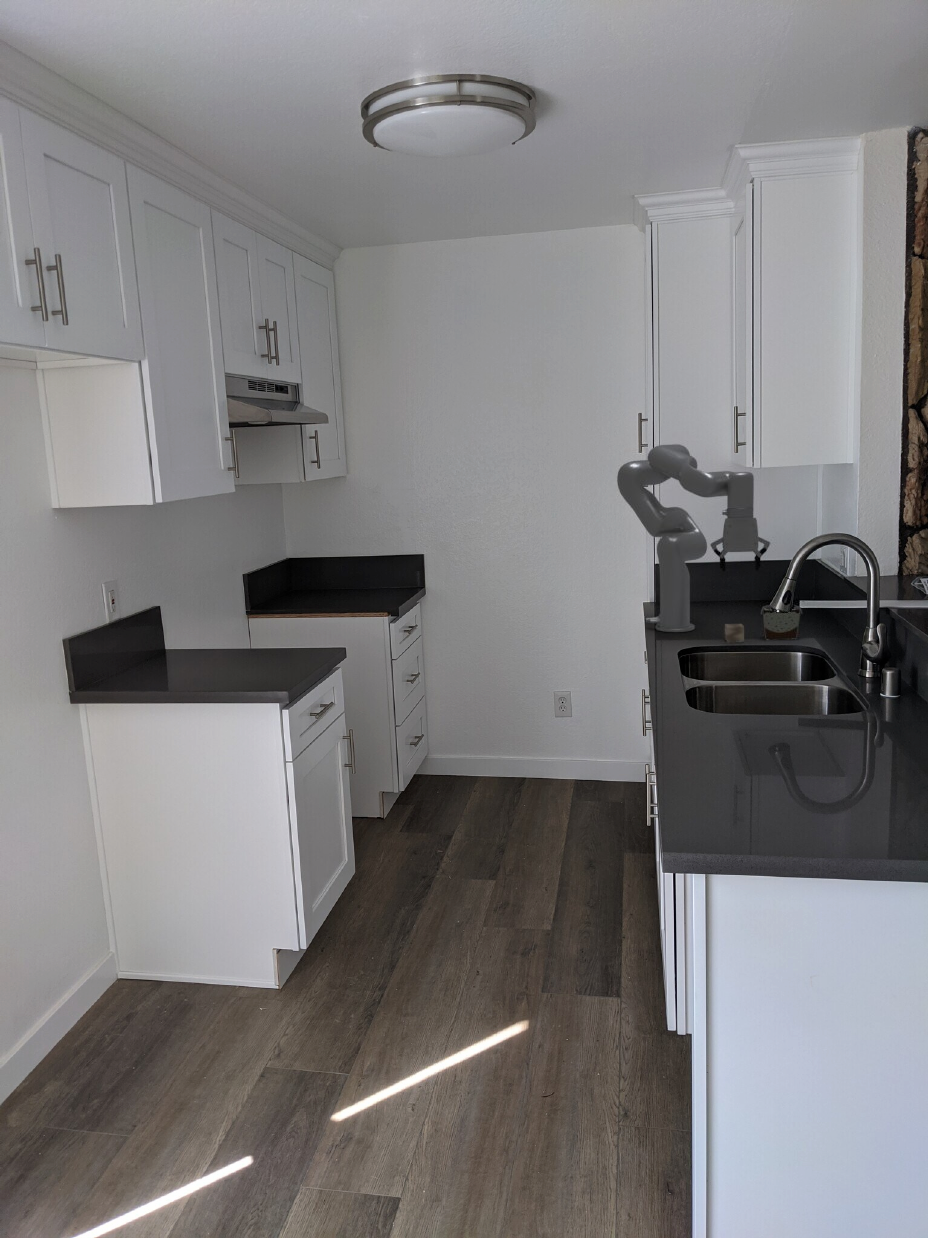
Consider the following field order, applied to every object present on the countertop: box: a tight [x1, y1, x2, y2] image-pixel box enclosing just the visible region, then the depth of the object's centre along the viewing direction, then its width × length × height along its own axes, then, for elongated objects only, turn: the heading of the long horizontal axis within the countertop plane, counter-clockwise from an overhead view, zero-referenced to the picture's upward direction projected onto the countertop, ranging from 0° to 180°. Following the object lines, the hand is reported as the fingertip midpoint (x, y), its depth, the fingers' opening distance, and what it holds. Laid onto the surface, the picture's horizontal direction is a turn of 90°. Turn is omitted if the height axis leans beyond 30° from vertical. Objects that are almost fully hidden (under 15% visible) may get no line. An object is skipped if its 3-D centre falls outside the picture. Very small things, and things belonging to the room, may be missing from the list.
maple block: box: [724, 623, 745, 643], centre depth 286 cm, size 5×5×5 cm
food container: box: [760, 604, 803, 640], centre depth 288 cm, size 12×6×10 cm, turn 84°
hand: (739, 570), depth 283 cm, fingers open, 9 cm apart
